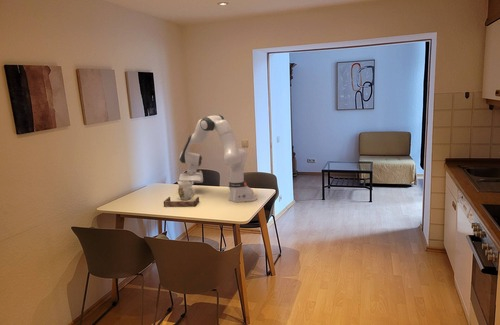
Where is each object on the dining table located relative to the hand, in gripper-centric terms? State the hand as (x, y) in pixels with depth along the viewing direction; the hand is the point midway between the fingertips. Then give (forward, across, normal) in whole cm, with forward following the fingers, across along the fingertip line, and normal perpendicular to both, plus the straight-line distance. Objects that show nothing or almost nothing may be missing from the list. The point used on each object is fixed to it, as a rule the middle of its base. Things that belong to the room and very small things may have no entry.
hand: (189, 186), depth 314 cm
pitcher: (+14, 0, -3) cm, 14 cm away
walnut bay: (+23, 0, -12) cm, 26 cm away
